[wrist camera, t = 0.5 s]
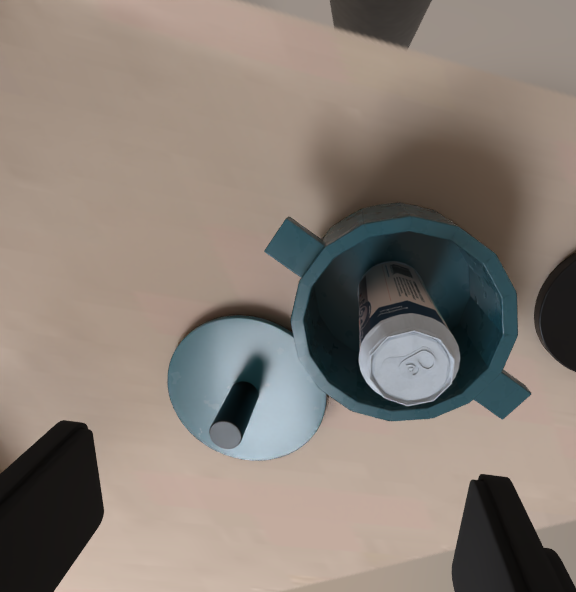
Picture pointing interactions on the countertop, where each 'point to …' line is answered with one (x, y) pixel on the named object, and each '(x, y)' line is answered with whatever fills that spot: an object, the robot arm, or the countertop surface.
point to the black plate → (558, 313)
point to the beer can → (403, 336)
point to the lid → (244, 388)
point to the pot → (440, 284)
